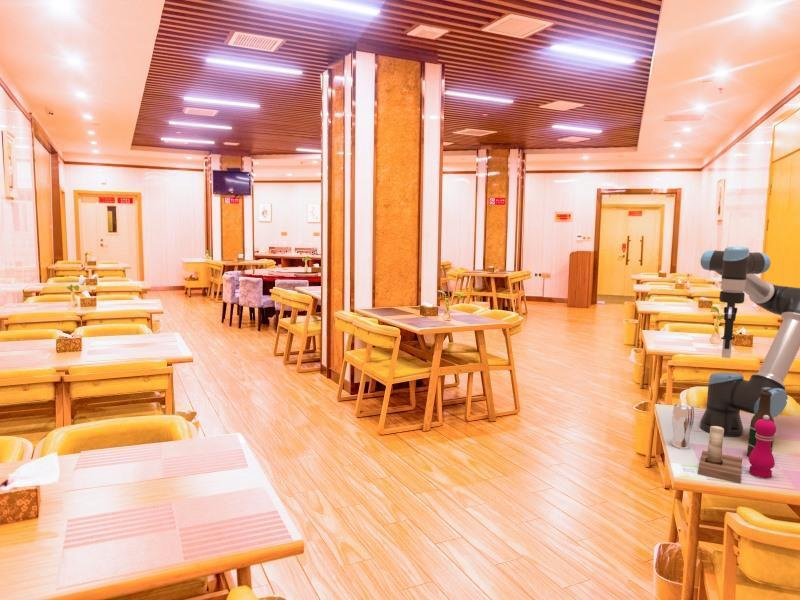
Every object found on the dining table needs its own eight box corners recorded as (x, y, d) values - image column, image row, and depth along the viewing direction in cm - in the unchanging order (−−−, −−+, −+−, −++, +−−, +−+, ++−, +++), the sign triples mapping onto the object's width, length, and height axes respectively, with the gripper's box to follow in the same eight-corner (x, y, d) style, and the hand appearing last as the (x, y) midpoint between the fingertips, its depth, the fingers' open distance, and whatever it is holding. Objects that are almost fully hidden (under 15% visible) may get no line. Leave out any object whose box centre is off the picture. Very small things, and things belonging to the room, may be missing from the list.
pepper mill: (777, 479, 186) (783, 419, 184) (752, 477, 188) (758, 417, 185) (767, 470, 194) (774, 412, 191) (744, 468, 195) (750, 410, 192)
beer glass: (665, 442, 217) (669, 403, 215) (682, 441, 218) (685, 403, 216) (678, 449, 210) (682, 409, 208) (695, 448, 211) (699, 408, 210)
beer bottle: (766, 454, 207) (773, 389, 204) (775, 463, 200) (783, 395, 197) (742, 452, 209) (749, 387, 206) (750, 461, 201) (758, 393, 198)
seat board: (702, 457, 204) (702, 450, 204) (741, 465, 198) (742, 457, 197) (697, 473, 190) (698, 466, 189) (740, 483, 183) (741, 475, 183)
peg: (706, 464, 197) (710, 425, 195) (720, 467, 195) (724, 427, 193) (705, 469, 194) (709, 428, 192) (719, 472, 192) (723, 431, 190)
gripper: (721, 288, 210) (715, 352, 213) (719, 291, 199) (712, 359, 202) (745, 290, 207) (738, 355, 210) (744, 293, 195) (737, 362, 199)
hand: (725, 357), depth 206 cm, fingers closed
